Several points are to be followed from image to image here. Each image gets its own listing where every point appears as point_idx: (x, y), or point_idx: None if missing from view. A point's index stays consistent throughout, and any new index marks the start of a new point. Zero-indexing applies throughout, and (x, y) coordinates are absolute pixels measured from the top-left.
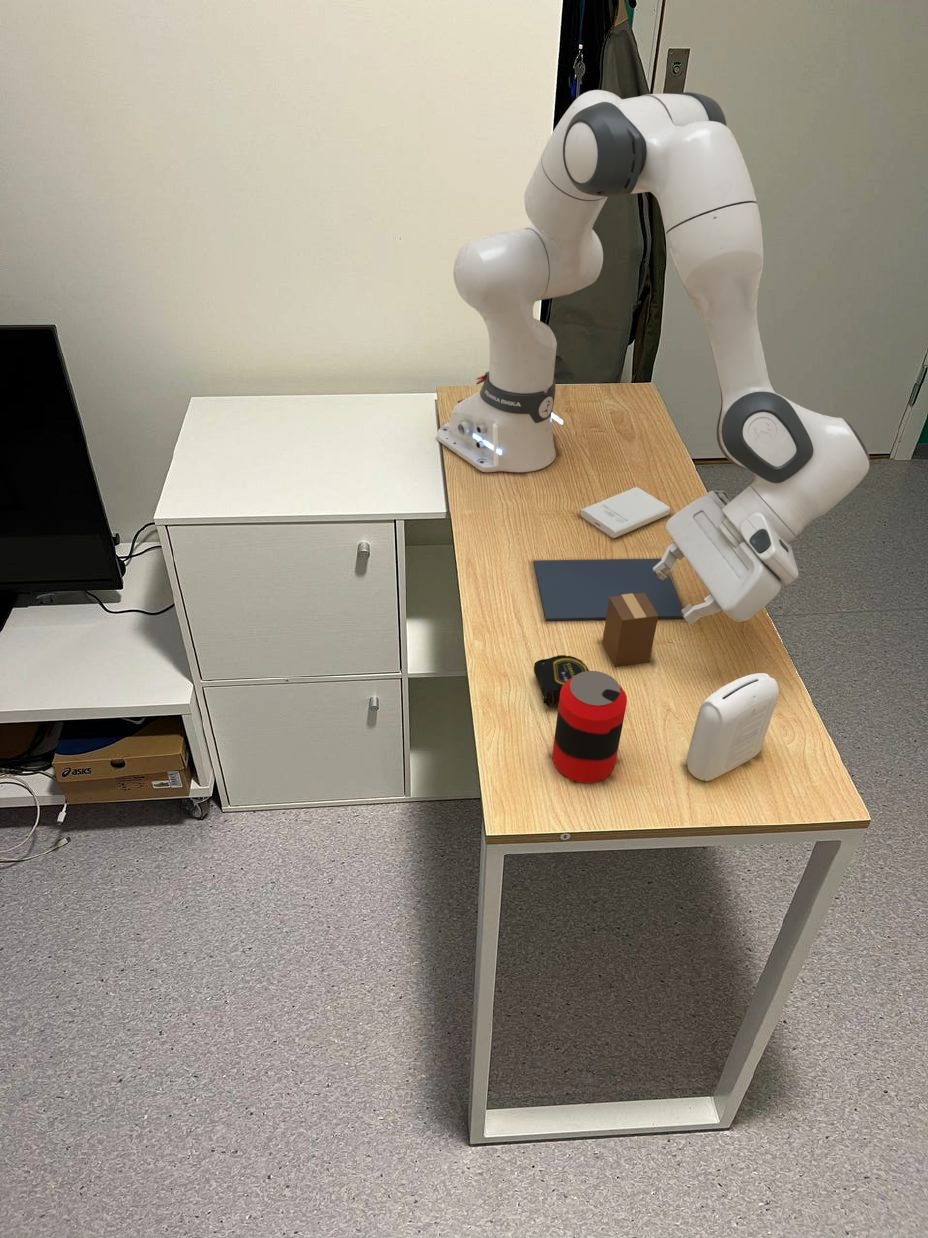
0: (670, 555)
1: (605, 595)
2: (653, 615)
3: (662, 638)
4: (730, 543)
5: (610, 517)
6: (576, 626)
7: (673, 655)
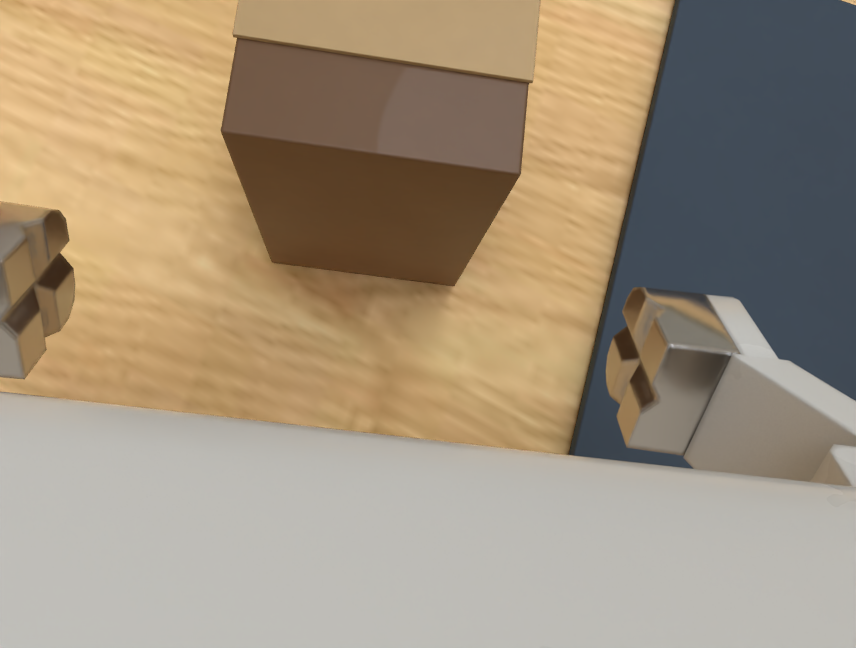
0: (813, 460)
1: (793, 286)
2: (235, 95)
3: (413, 417)
4: None
5: None
6: (615, 67)
7: (272, 404)
